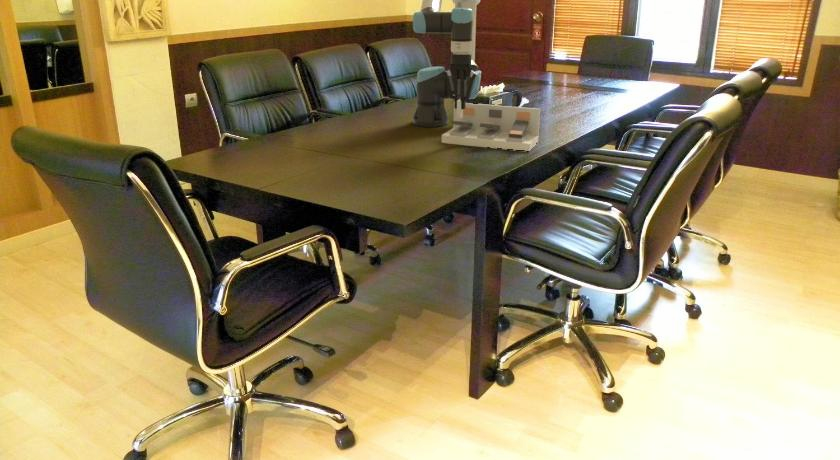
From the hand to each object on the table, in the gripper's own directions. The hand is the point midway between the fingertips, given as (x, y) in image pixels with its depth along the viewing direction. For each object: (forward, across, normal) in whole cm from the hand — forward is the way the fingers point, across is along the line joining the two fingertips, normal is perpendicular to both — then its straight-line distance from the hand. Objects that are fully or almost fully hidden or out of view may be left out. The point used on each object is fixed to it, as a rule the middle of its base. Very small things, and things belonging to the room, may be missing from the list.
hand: (459, 117), depth 241 cm
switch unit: (+10, +11, +4) cm, 15 cm away
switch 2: (+3, +11, +4) cm, 12 cm away
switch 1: (+3, 0, +4) cm, 5 cm away
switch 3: (+3, +22, +4) cm, 23 cm away
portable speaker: (+10, -3, +63) cm, 63 cm away
